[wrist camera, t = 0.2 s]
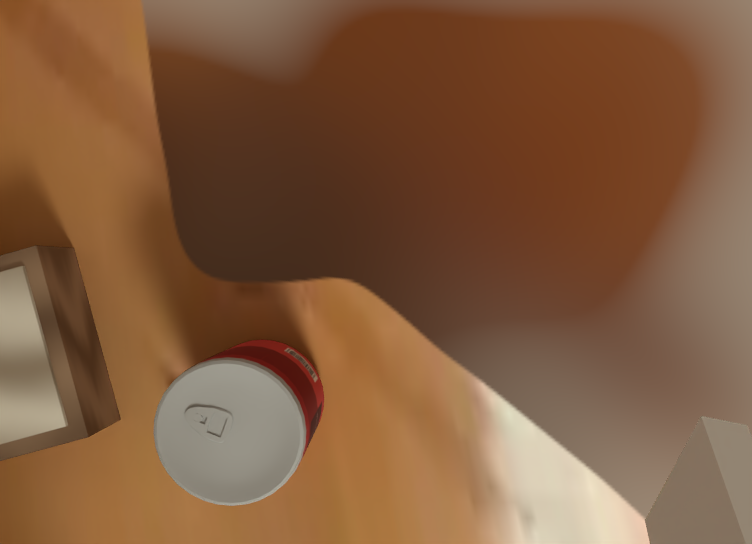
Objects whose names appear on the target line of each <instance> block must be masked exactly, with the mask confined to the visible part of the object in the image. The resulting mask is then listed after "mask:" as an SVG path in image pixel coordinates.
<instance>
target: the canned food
mask: <svg viewBox="0 0 752 544" xmlns="http://www.w3.org/2000/svg"><path fill="white" fill-rule="evenodd" d="M323 407H324V393H323V386H322V383H321V380H320V378H319V375H318V373H317V372H316V370H315V368H314V367H313V365H312V364H311V363H310V362H309V360H308V359H307V358H306V357H305V356H304V355H302V354H301V353H300V352H298V351H297V350H296V349H294V348H292V347H290V346H288V345H286V344H284V343H280V342H277V341H272V340H253V341H248V342H245V343H241V344H238V345H236V346H234V347H232V348H230V349H228V350H225V351H223V352H221V353H219V354H217V355H215V356H212V357H210V358H208V359H206V360H204V361H202V362H200V363H198V364H196V365H195V366H193V367H191V368H189V369H187V370H186V371H185V372H184V373H182V374H181V375H180V376H179V377H178V378H176V379H175V381H173V383H172V384H171V385H170V386H169V388H168V389H167V390H166V391H165V393H164V395H163V397H162V399H161V401H160V403H159V405H158V408H157V411H156V415H155V419H154V439H155V446H156V449H157V452H158V455H159V458H160V461H161V462H162V464H163V466H164V467H165V469H166V471H167V473H168V474H169V475H170V476H171V477H172V478H173V480H174V481H175V482H176V483H177V484H178V485H179V486H180V487H182V488H183V489H184V490H186V491H187V492H188V493H190V494H192V495H194V496H196V497H197V498H199V499H201V500H204V501H207V502H211V503H214V504H219V505H230V506H234V505H244V504H249V503H252V502H256V501H259V500H261V499H263V498H265V497H267V496H269V495H271V494H273V493H274V492H275V491H276V490H278V489H279V488H280V487H281V486H282V485H284V484H285V483H286V482H287V481H288V479H289V478H290V477H291V476H292V474H293V473H294V472H295V471H296V469H297V467H298V465H299V463H300V461H301V460H302V458H303V456H304V454H305V452H306V449H307V447H308V445H309V443H310V441H311V439H312V437H313V434H314V432H315V430H316V428H317V426H318V424H319V422H320V419H321V416H322V412H323Z"/></svg>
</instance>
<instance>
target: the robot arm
mask: <svg viewBox="0 0 752 544" xmlns="http://www.w3.org/2000/svg"><path fill="white" fill-rule="evenodd" d="M645 523H646V527H647V532H648V536H649V541H650V544H752V436H751V433H750V431H749V429H748V426H747V425H745V424H739V423H734V422H729V421H724V420H719V419H714V418H708V417H704V416H701V417H700V419H699V421H698V423H697V424H696V426H695V428H694V430H693V432H692V434H691V436H690V437H689V440H688V441H687V443H686V445H685V447H684V449H683V451H682V452H681V454H680V456H679V458H678V460H677V462H676V464H675V465H674V467H673V469H672V471H671V473H670V475H669V477H668V478H667V480H666V482H665V484H664V486H663V488H662V490H661V491H660V494H659V495H658V497H657V499H656V501H655V503H654V505H653V506H652V508H651V510H650V512H649V514H648V516H647V518H646V519H645Z"/></svg>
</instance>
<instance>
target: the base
mask: <svg viewBox="0 0 752 544" xmlns="http://www.w3.org/2000/svg"><path fill="white" fill-rule="evenodd" d="M119 420H120V415H119V412H118V408H117V404H116V401H115V397H114V393H113V390H112V386H111V382H110V379H109V375H108V371H107V368H106V364H105V360H104V357H103V353H102V350H101V346H100V342H99V339H98V335H97V331H96V328H95V324H94V320H93V317H92V313H91V309H90V306H89V302H88V298H87V295H86V291H85V287H84V284H83V280H82V276H81V273H80V269H79V265H78V262H77V258H76V254H75V251H74V248H66V247H51V246H33V247H29V248H26V249H22V250H18V251H15V252H11V253H8V254H4V255H1V256H0V461H2V460H6V459H9V458H13V457H17V456H20V455H24V454H28V453H31V452H35V451H39V450H42V449H46V448H50V447H54V446H57V445H61V444H65V443H68V442H72V441H76V440H79V439H83V438H87V437H89V436H91V435H93V434H95V433H97V432H99V431H100V430H102V429H104V428H106V427H108V426H109V425H111V424H113V423H115V422H117V421H119Z"/></svg>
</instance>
